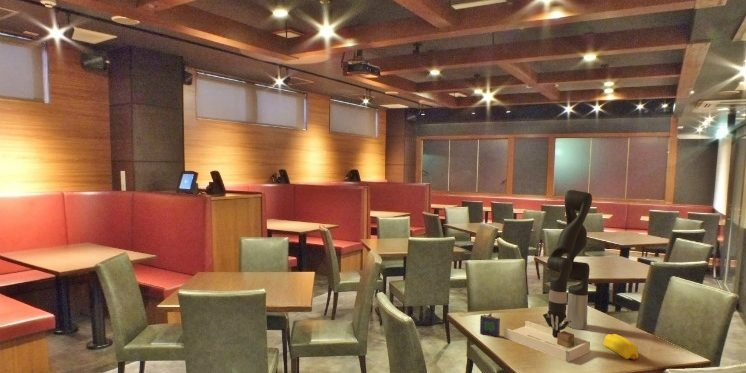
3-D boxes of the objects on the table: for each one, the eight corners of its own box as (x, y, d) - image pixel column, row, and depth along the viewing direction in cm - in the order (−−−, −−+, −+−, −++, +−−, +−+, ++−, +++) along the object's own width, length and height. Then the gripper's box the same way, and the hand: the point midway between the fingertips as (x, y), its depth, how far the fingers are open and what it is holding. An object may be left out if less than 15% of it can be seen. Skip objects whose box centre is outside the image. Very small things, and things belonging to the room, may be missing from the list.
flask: (499, 335, 212) (500, 313, 212) (499, 337, 210) (499, 315, 209) (480, 332, 216) (480, 310, 215) (479, 334, 213) (479, 312, 213)
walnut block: (563, 341, 201) (563, 330, 201) (573, 345, 197) (574, 334, 197) (557, 344, 198) (557, 333, 198) (567, 348, 194) (568, 336, 194)
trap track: (526, 329, 221) (526, 320, 220) (589, 351, 195) (590, 341, 195) (503, 337, 210) (504, 328, 210) (567, 362, 184) (568, 351, 184)
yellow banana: (626, 362, 186) (643, 361, 187) (627, 346, 186) (644, 345, 187) (599, 344, 204) (614, 344, 205) (599, 330, 203) (614, 330, 205)
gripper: (576, 302, 198) (574, 340, 199) (549, 295, 208) (547, 331, 209) (566, 305, 193) (564, 344, 194) (539, 297, 204) (538, 334, 205)
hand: (555, 337), depth 202 cm, fingers closed
